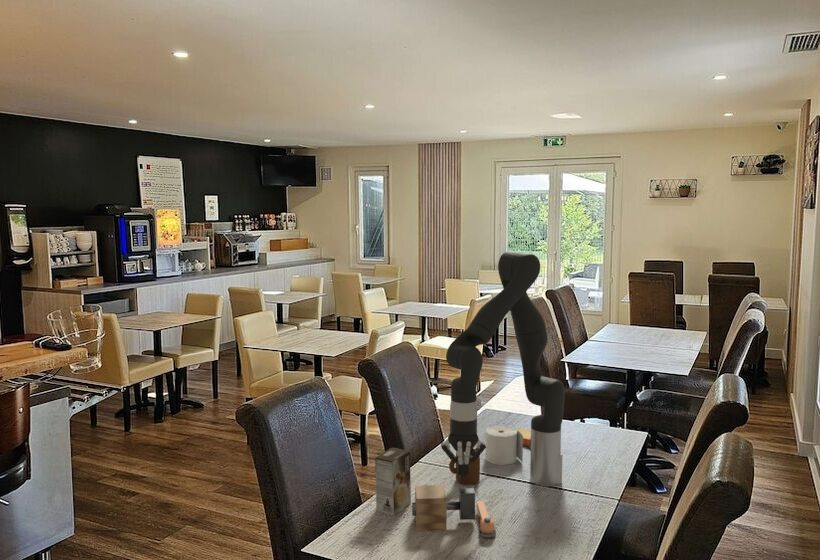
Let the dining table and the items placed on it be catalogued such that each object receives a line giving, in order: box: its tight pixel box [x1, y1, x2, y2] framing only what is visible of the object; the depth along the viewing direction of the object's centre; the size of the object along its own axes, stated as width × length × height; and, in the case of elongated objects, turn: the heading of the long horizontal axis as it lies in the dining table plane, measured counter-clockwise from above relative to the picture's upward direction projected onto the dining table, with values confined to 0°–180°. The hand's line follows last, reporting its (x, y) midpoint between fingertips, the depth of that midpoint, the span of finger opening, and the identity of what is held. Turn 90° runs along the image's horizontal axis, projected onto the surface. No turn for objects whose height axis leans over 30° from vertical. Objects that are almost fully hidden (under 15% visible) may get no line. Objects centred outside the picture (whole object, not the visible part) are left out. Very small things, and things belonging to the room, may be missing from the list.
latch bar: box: [476, 500, 495, 534], centre depth 172 cm, size 4×15×3 cm, turn 2°
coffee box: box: [374, 447, 412, 516], centre depth 181 cm, size 9×6×16 cm
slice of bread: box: [513, 427, 531, 449], centre depth 233 cm, size 18×18×4 cm
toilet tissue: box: [485, 425, 524, 466], centre depth 216 cm, size 11×12×10 cm
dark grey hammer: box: [411, 487, 476, 521], centre depth 172 cm, size 17×3×8 cm, turn 92°
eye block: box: [414, 484, 448, 532], centre depth 172 cm, size 8×8×9 cm
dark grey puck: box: [478, 528, 497, 540], centre depth 166 cm, size 4×4×1 cm
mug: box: [448, 448, 481, 486], centre depth 198 cm, size 12×8×9 cm, turn 133°
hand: (462, 475), depth 176 cm, fingers closed
